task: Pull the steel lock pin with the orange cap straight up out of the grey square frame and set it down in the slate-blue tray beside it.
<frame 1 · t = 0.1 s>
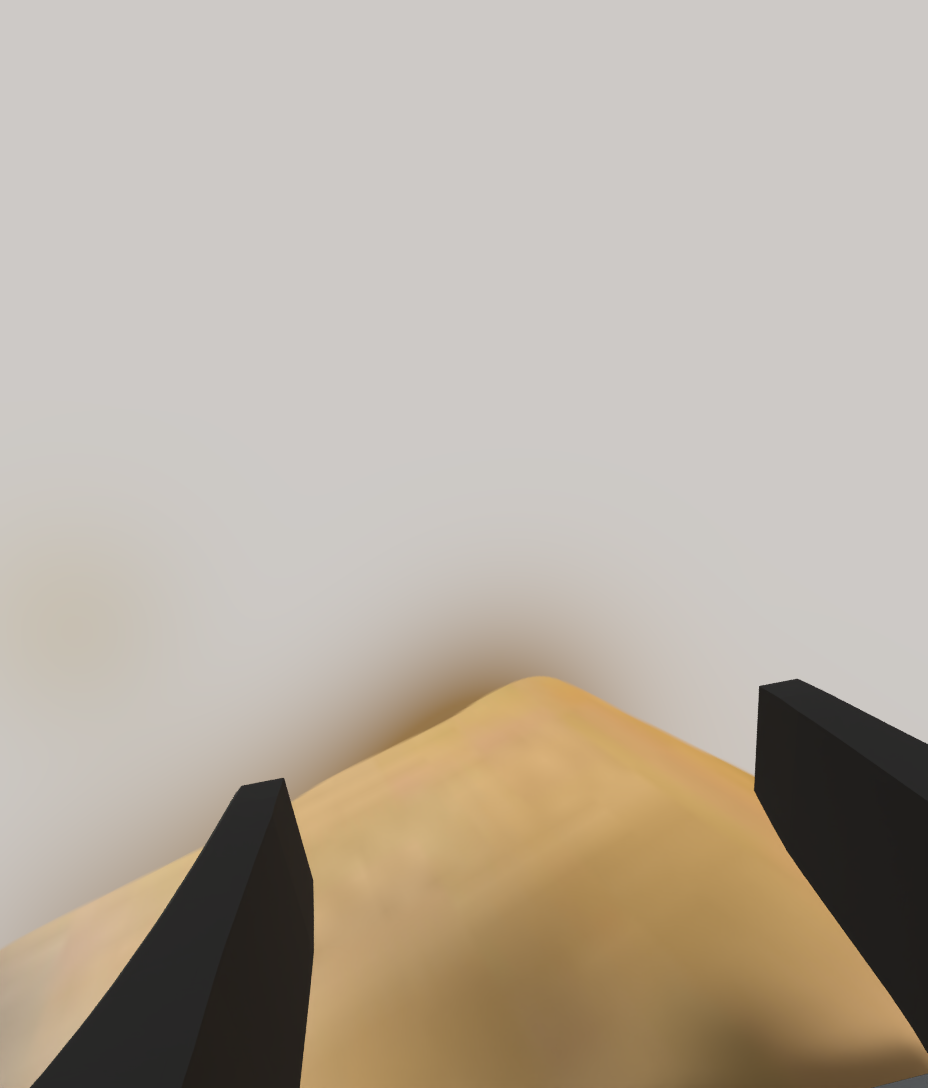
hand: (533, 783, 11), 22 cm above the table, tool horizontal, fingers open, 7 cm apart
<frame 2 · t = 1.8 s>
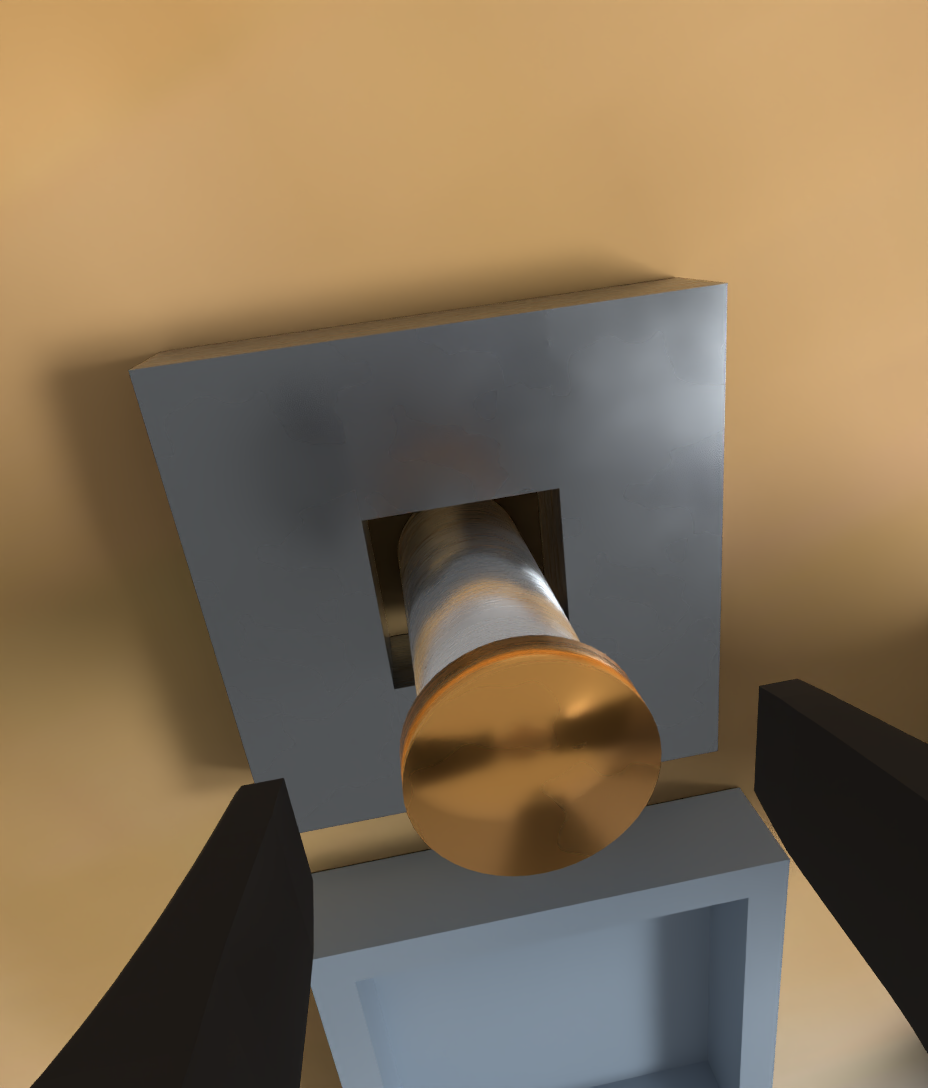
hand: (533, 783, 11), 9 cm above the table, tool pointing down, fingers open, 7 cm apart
tray: (546, 977, 26), on the table
grey square frame: (459, 550, 19), on the table
lock pin: (486, 633, 15), in the grey square frame
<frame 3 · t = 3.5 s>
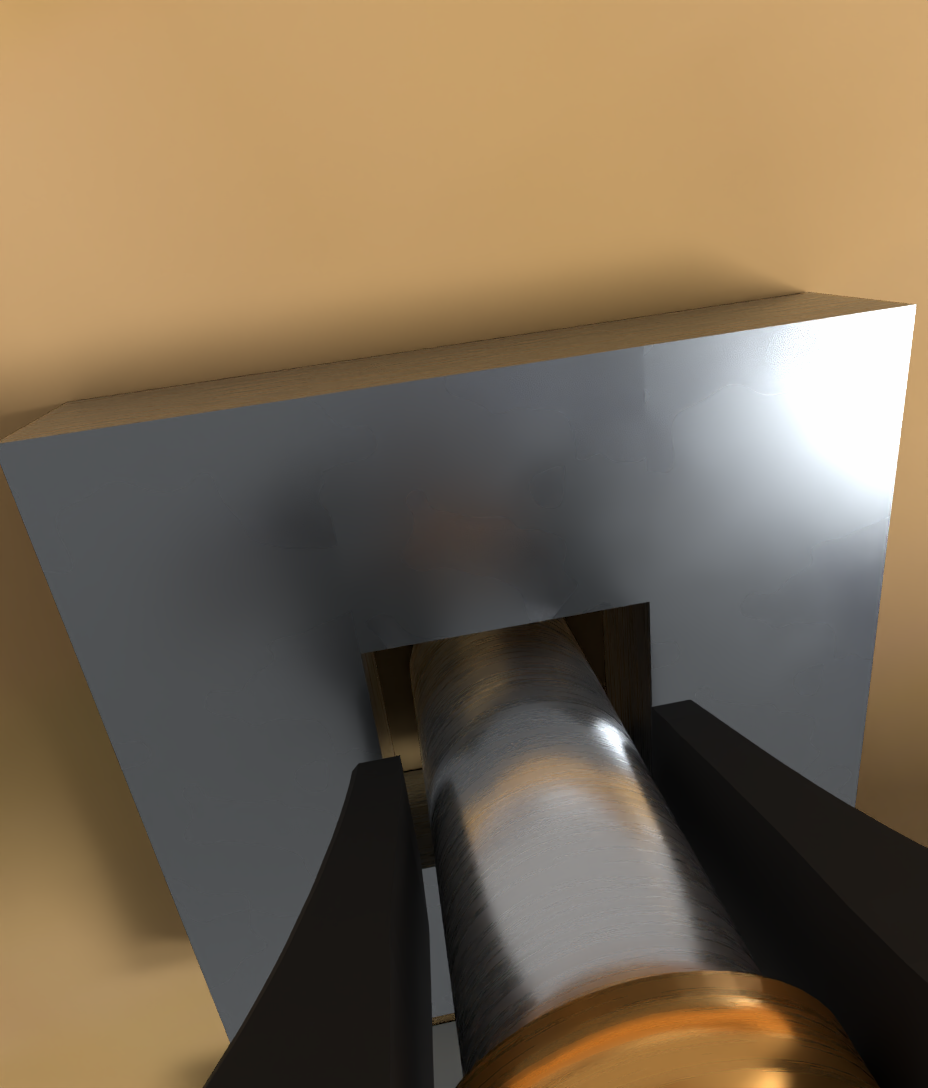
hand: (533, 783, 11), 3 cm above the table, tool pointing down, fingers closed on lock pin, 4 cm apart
grey square frame: (493, 662, 14), on the table
lock pin: (549, 832, 10), in the grey square frame, touching gripper
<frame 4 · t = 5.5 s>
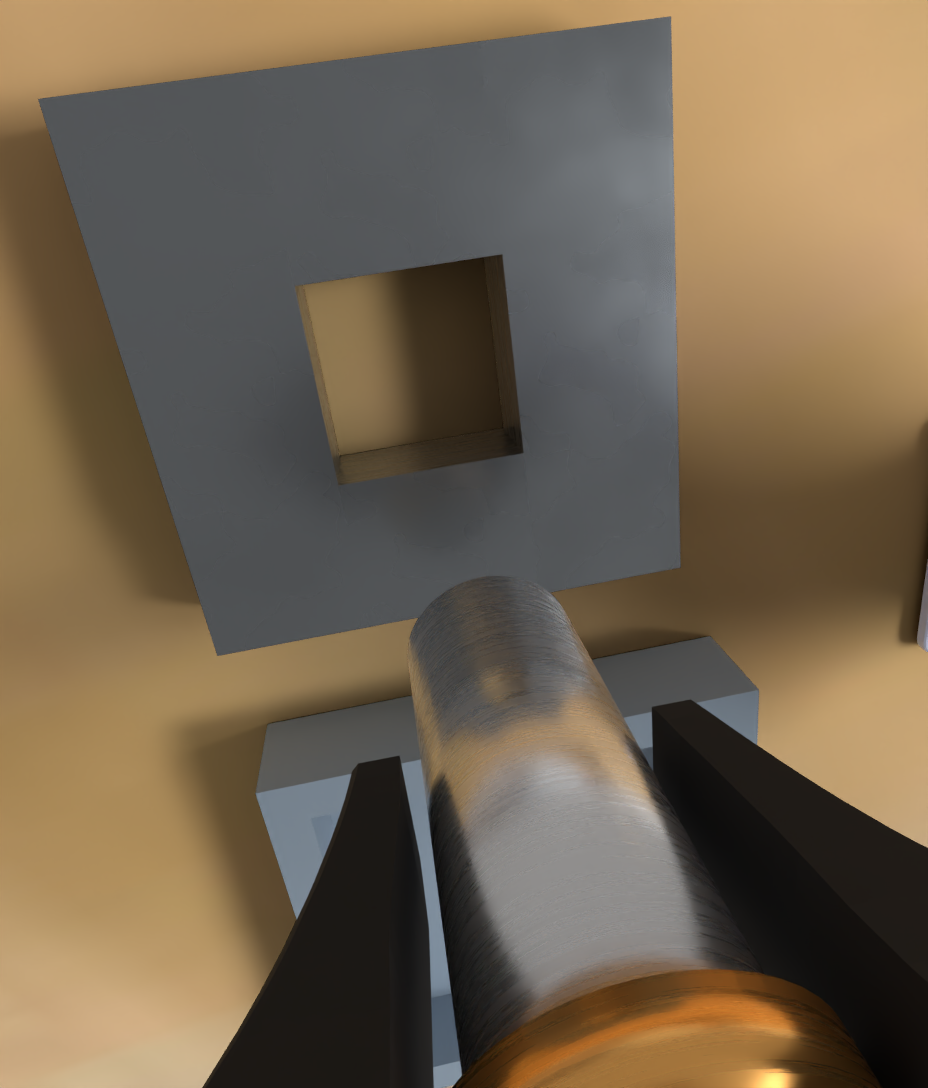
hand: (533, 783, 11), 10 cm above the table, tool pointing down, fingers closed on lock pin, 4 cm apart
tray: (518, 846, 25), on the table
grey square frame: (408, 358, 18), on the table
lock pin: (547, 823, 10), point 11 cm above the table, touching gripper
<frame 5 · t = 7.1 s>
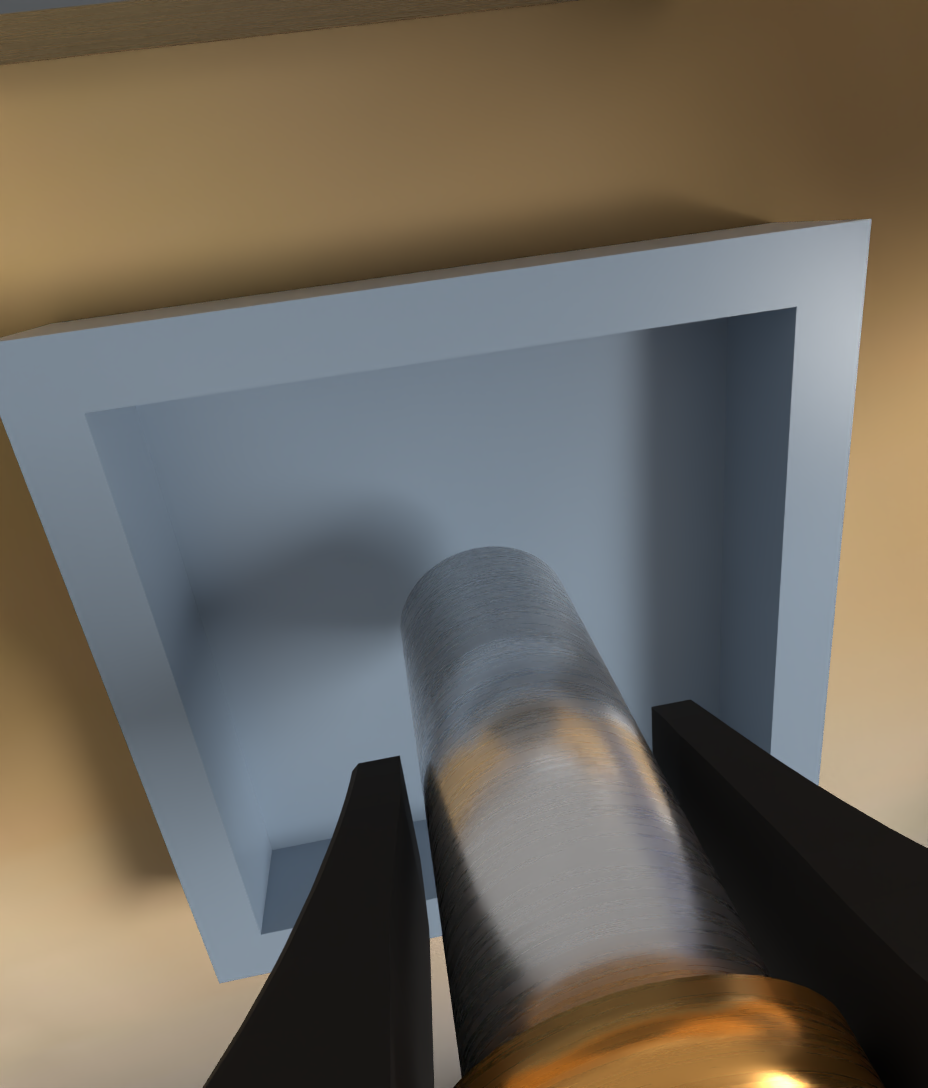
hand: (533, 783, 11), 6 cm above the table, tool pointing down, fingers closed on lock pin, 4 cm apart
tray: (470, 593, 17), on the table
lock pin: (544, 804, 10), point 7 cm above the table, tilted 5°, touching gripper
when the fingers open (6 cm above the table, at t = 7.7 s): lock pin drops 2 cm, resting on tray.
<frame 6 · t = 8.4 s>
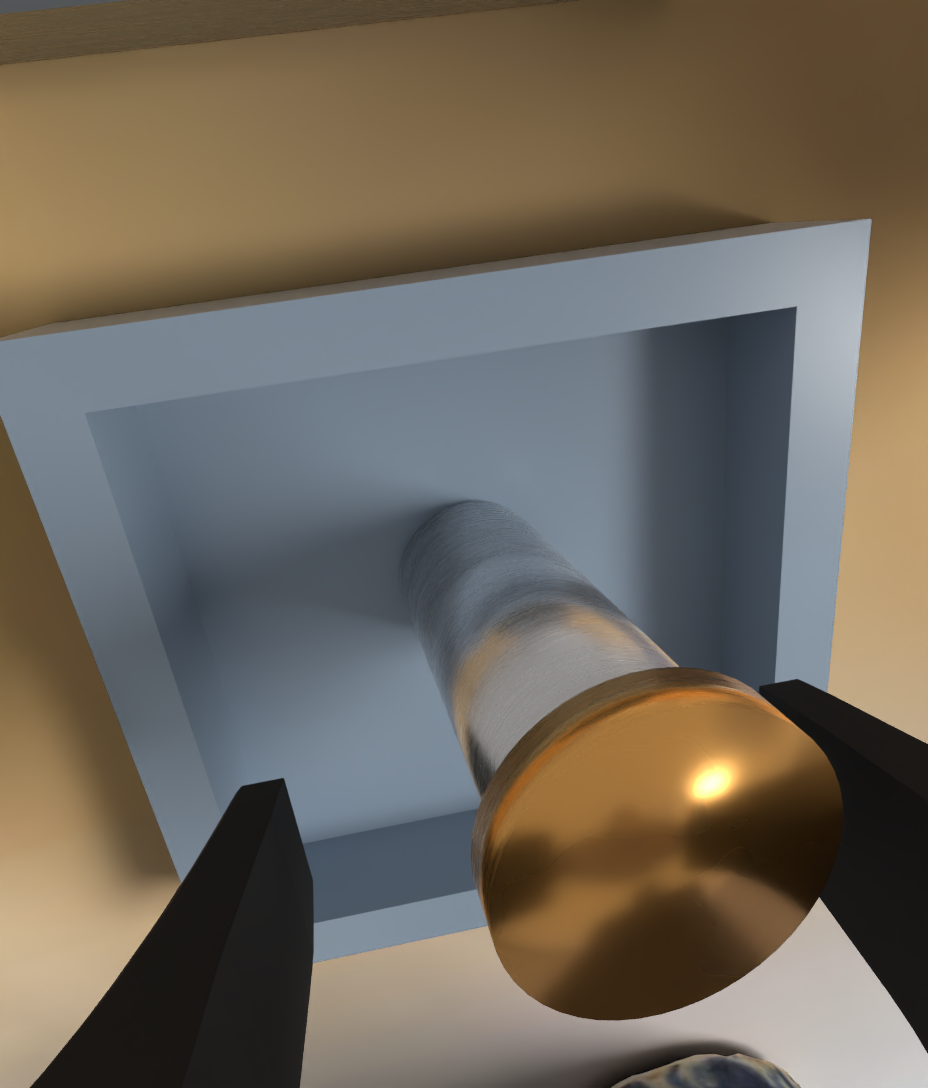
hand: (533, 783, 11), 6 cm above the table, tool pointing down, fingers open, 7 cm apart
tray: (470, 592, 17), on the table
lock pin: (538, 671, 12), in the tray, tilted 6°
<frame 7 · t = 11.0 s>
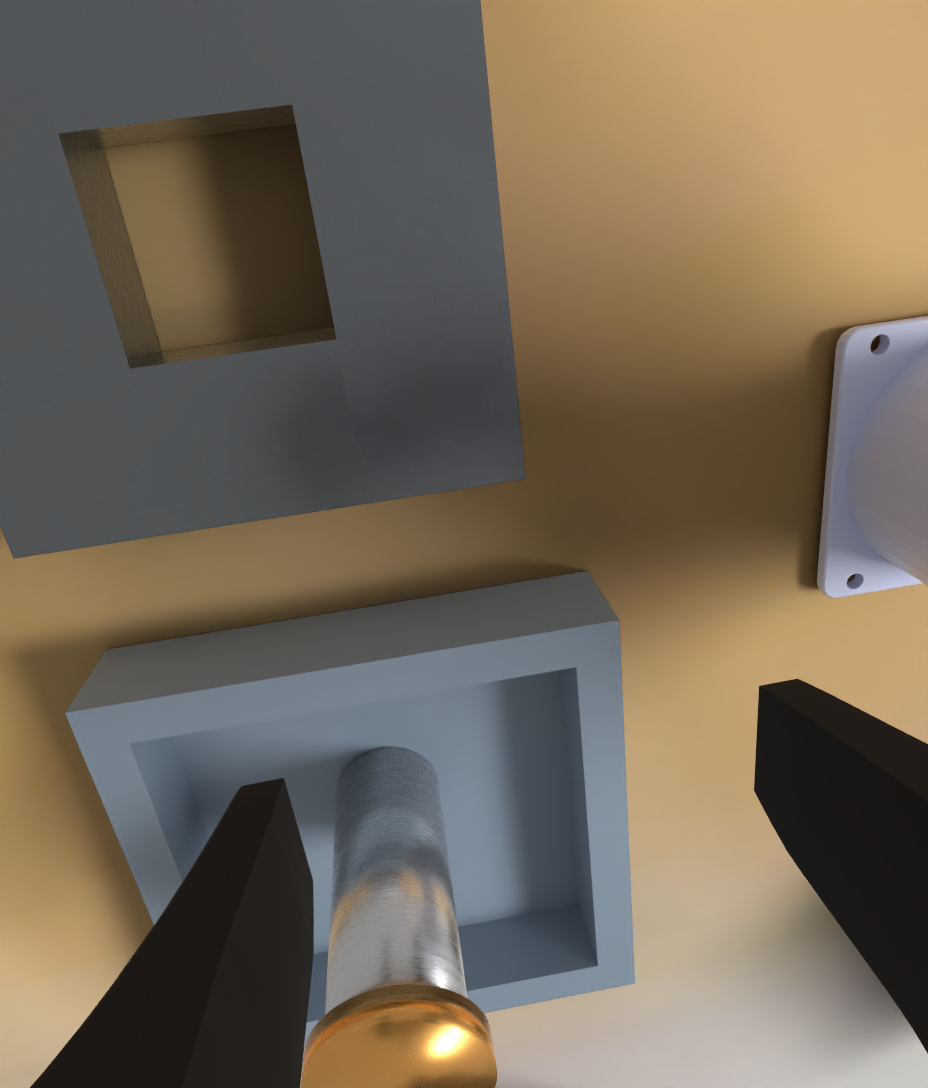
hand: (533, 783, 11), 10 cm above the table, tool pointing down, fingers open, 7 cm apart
tray: (390, 795, 24), on the table
grey square frame: (229, 242, 17), on the table
lock pin: (392, 906, 19), in the tray, point 5 cm above the table
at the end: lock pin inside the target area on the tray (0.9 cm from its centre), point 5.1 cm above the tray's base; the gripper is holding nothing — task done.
